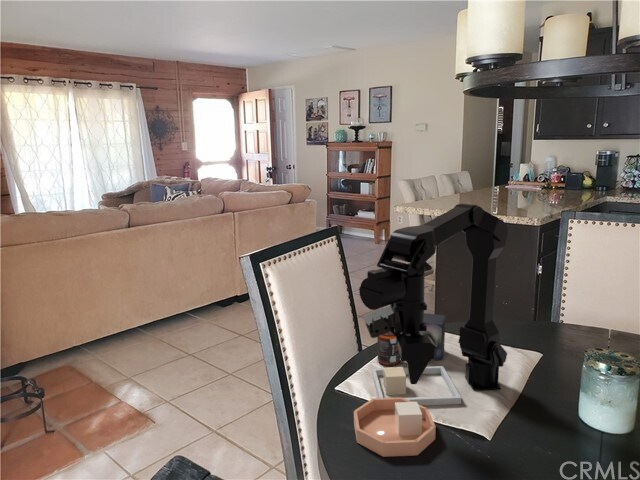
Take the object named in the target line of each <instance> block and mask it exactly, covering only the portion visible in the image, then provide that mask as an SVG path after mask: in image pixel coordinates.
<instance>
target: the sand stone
mask: <svg viewBox="0 0 640 480" xmlns="http://www.w3.org/2000/svg"><path fill="white" fill-rule="evenodd" d="M403 368H404V367H403V366H393V367H391V366H390V367H389V366H388V367H386V366H385V367H383V376H382V377H383V378H382V380H383V383H382V384H383V385H382V386H383V389H384V388H385V389H384V392H385V395H390V396H391V395H406V394H407V375H405V372H404V370H403Z"/></svg>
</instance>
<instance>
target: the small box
mask: <svg viewBox="0 0 640 480" xmlns="http://www.w3.org/2000/svg"><path fill="white" fill-rule="evenodd" d="M424 323H425V324H426V326H427V330H426V331H420V335H428V336H429V337H430V338H431V339H432V340H433V342H434V344H435V345H436V347H437V357H436V358H434V359H433V360H436V361H442V359H443V357H444V353H445V351H446V350H445V341H446V339H445V336H446V335H445V333H446V315H444V314H435V313H426V312H424Z"/></svg>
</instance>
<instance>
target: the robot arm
mask: <svg viewBox="0 0 640 480" xmlns="http://www.w3.org/2000/svg"><path fill="white" fill-rule="evenodd" d="M461 232H462V233H464V234H465V245H466V247H467V249H468V251H469V252H470V253H469V254H471V257H472V265H471V281H470V282H471V284H470V285H471V286H470V287H471V288H470V299H469V301H470V302H469V304H470V305H469V319H467V321H466V322H465V324H464V325H462V326H460V327H459V329H458V330H459V337H458V338H459V339H458V342H457V343H458V344H459V347H460V348H459V349H460V350H461V356H462V357H465V358H467V362H465V373H464V379H465V380H466V382H467V384H468V385H469V386H470V387H471V389H472V390H473V391H488V390H489V391H491V390H501V388H502V386H501V384H499V373H500V371H499V370H500V368H502V367H504V366H505V365H504V363H506V360H507V356H508V352H507V351H506V350H505V348H503V346H502V345H501V344H500V331H499V330H498V328H497V326H496V324H495V322H494V320H493V318H494V317H493V315H494V300H495V286H496V285H495V283H496V270H497V269H496V268H497V258H498V256H499V255H500V254H501V252H502V251H503V250H504V248H505V247H506V242H507V238H508V236H509V235H508V234H509V228H508V225H507V223H505V222H504V220H503V219H502V218H499V217H497V216H496V215H494V214H491V213H489V212H487V211H485V210H484V209H483V208H482V206H479V205H478V204H473V203H462V202H461V203H458V204H456V205H455V206H454V207H453V208H451V209H449V210H447V211H446V212H444V213H442V214H440V215H438V216H436V217H435V218H432V219H431V220H429V221H427V222H425V223H423V224H420V225H415V226H414V225H412V226H406V227H401V228H398V229H395V230H394V231H392V233H391V234H390V235H389V239H388V240H387V243H386V245H385V247H384V249H383V251H382V253H381V255H380V258H379V259H378V262H377V264H376V267H378V269H371V270H367V273H366V275H367V277H366V278H364V279H363V280H362V281H361V283H360V287H359V289H358V290H359V297H360V300H361V302H362V303H363V305H364V306H365V307H366V308H367V309H369V310H371V312H368V313H366V314H364V315H363V321H364V324H365V326H366V329H367V331H368V333H369V337H370V338H371V339H375V338H377V337H378V336H380V335H383V334H385V333H388V332H389V331H391V332H392V333H393V334H394V335H395V337H396V341H397V345H398V350H399V351H398V353H399V355H400V362H406V368H408V374H409V375H408V378H409V382H410V384H411V385H417V384H418V382H419V381H420V378H421V377H422V375H423V374H422V373H423V371H424V370H425V368H426V367H428V365H429V364H430V362H431V361H432V360H435V359H434V358H436V357H437V347H436V345H435V344H434V342H433V340H432V339H431V338H430V337H429V336H428V335H420V331H426V330H427V326H426V324H425V323H424V313H425V311H427V310H428V304H427V303H426V302H425V283H426V282H425V280H426V279H425V275H426V274H425V273H426V272H429V271H431V270H432V269H433V266H432V265H431V264H430V263H428V262H427V261H428V260H430V258H432V257H433V256H434V255H435V254H436V251H437V247H438V246H439V245H440V244H442V243H444V242H445V241H447V240H449V239H450V238H452V237H454V236H456V235H457V234H458V233H461ZM396 260H397V261H396ZM402 261H403V262H402ZM404 262H405V263H404ZM406 262H407V263H406Z"/></svg>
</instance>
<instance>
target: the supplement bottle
mask: <svg viewBox="0 0 640 480" xmlns="http://www.w3.org/2000/svg"><path fill="white" fill-rule="evenodd" d="M376 338H377V339H376V340H377V341H376V343H377V349H376V350H377V361H378V363H380V364H381V365H384V366H396V365H398V364H399V363H400V362H401V359H400V355H399V353H398V351H399V350H398V345H397V341H396V337H395V335H394V334H393V333H392V332H391V331H389V332H388V333H385V334H383V335H380V336H378V337H376Z"/></svg>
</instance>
